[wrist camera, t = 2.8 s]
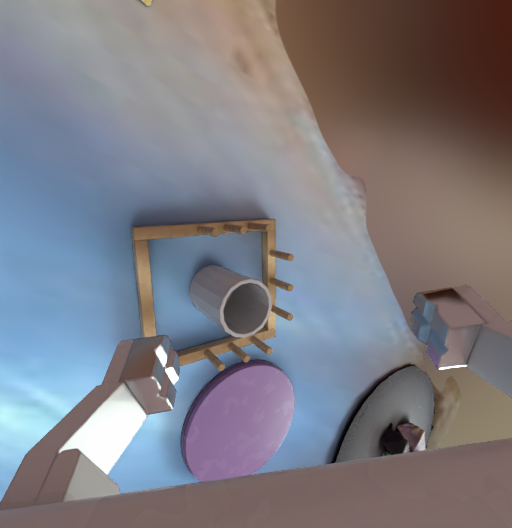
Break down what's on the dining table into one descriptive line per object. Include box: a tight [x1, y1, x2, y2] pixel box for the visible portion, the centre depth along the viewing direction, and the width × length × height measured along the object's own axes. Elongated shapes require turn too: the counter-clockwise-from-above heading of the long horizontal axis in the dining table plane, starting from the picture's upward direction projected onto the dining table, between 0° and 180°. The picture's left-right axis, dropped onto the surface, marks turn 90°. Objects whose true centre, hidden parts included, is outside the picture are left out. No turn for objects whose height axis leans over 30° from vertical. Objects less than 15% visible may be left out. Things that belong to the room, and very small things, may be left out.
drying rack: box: [131, 219, 293, 371], centre depth 32 cm, size 15×16×5 cm
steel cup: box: [189, 265, 272, 338], centre depth 31 cm, size 6×6×8 cm
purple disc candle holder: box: [181, 360, 295, 482], centre depth 39 cm, size 16×16×1 cm
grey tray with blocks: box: [336, 366, 435, 463], centre depth 58 cm, size 35×35×9 cm
